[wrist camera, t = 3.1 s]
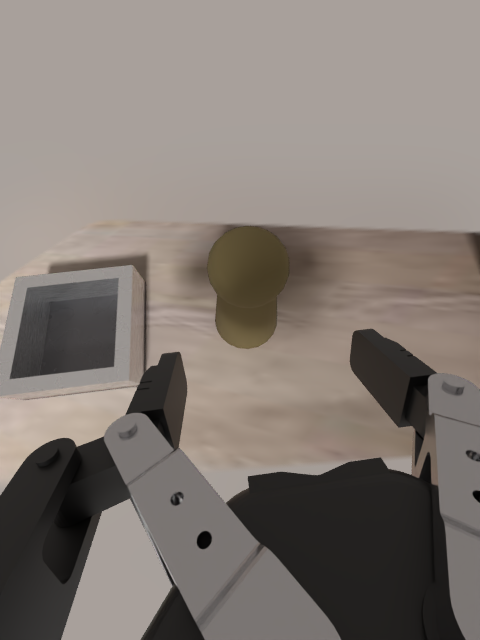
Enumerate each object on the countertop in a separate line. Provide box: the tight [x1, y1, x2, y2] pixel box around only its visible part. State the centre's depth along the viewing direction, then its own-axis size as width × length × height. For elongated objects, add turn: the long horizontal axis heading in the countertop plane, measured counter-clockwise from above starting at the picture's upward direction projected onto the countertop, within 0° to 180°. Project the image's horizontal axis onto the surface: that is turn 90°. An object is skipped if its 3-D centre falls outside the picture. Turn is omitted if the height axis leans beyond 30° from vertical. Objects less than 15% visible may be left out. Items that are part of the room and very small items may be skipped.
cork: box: [207, 226, 289, 349], centre depth 20 cm, size 6×6×11 cm
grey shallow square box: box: [0, 265, 146, 400], centre depth 23 cm, size 10×10×3 cm
